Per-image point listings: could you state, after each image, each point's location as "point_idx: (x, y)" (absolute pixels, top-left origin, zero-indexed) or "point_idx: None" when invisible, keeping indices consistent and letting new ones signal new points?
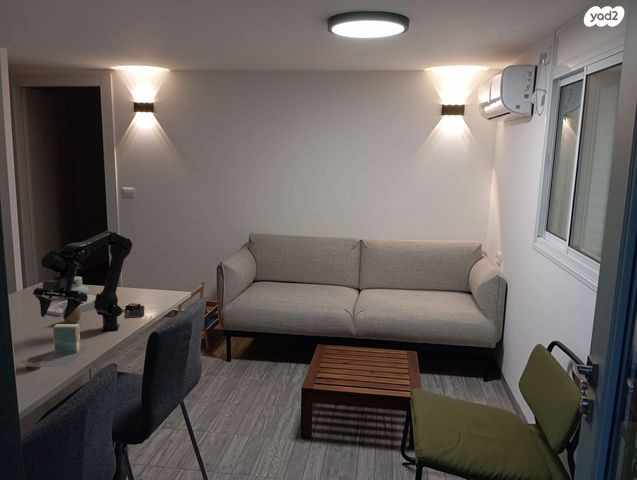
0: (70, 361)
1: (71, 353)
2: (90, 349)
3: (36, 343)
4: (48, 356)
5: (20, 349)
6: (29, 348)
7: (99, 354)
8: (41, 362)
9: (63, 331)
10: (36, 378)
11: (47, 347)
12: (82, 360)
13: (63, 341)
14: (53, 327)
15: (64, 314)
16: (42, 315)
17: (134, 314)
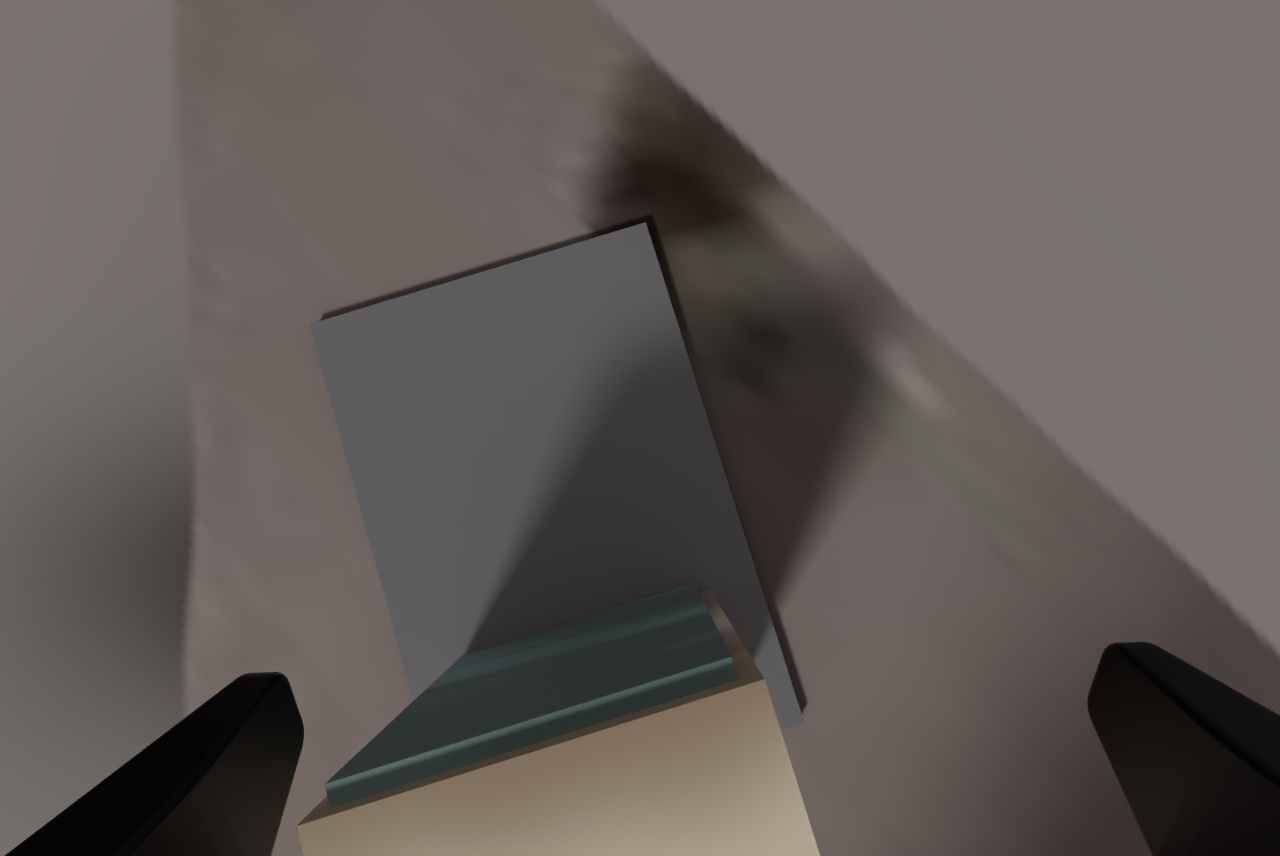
0: (371, 433)
1: (511, 631)
2: None
3: None
4: (707, 480)
5: (1199, 588)
6: None
7: None
8: (661, 322)
9: (554, 697)
10: (453, 28)
11: (942, 733)
12: (288, 521)
13: (582, 643)
14: (754, 678)
15: (200, 765)
16: (1130, 674)
17: None
